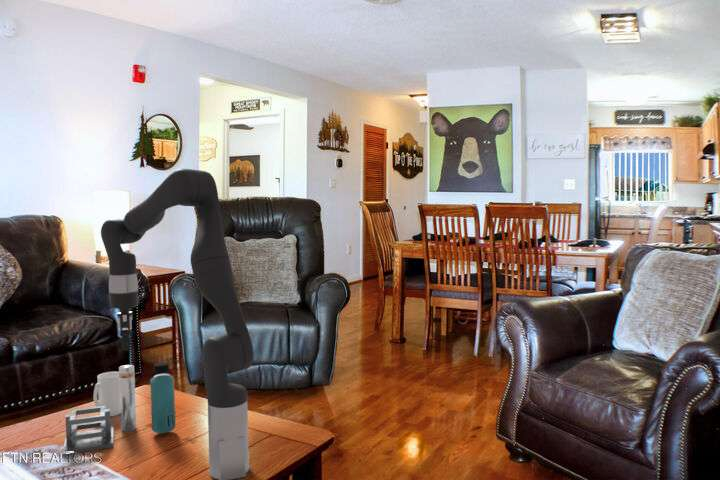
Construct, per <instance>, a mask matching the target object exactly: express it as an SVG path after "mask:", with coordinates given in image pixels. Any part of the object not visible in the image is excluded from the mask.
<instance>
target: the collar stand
mask: <svg viewBox="0 0 720 480" xmlns="http://www.w3.org/2000/svg"><path fill="white" fill-rule="evenodd" d="M95 413H99V414H97V415H91V416H84V417H77V416H78V415H79V416H80V415H88V414H95ZM64 418H65V434H66V435H65V438H64V442H63V447H62V451H74V452H77V453H76V454H78V453H79V454H80V453H86V452H92V451H98V450H104V449H105V450H106V449H111V448H114V438H115V437H114V435H115V432H114V426H112V425H111V424H112V423H111V416H110V409H106V406H98V407H96V406H93V407H92V406H91V407H85V408H78V409H77V408H76V409H75V408H74V409H72V410H71V413H68V414H65V417H64ZM93 428H94V429H93ZM87 429H88V430H87ZM79 430H80V431H79ZM62 451H61V452H62Z"/></svg>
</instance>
